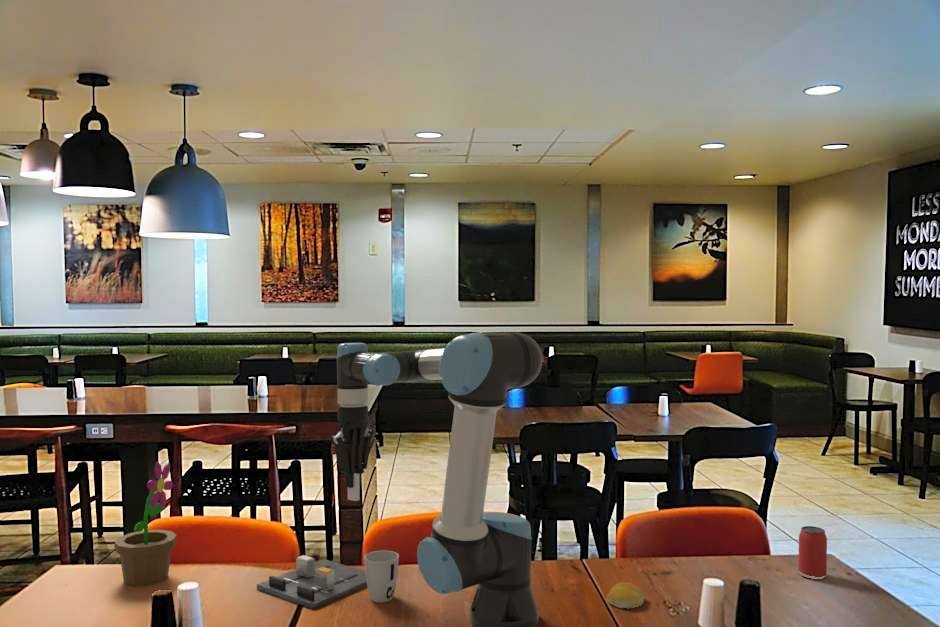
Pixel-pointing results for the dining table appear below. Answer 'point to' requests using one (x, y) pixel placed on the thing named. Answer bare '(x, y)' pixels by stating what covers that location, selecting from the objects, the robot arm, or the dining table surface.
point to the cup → (381, 574)
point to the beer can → (813, 551)
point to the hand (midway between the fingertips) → (353, 499)
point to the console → (305, 590)
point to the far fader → (305, 566)
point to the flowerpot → (148, 539)
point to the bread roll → (625, 596)
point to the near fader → (324, 578)
